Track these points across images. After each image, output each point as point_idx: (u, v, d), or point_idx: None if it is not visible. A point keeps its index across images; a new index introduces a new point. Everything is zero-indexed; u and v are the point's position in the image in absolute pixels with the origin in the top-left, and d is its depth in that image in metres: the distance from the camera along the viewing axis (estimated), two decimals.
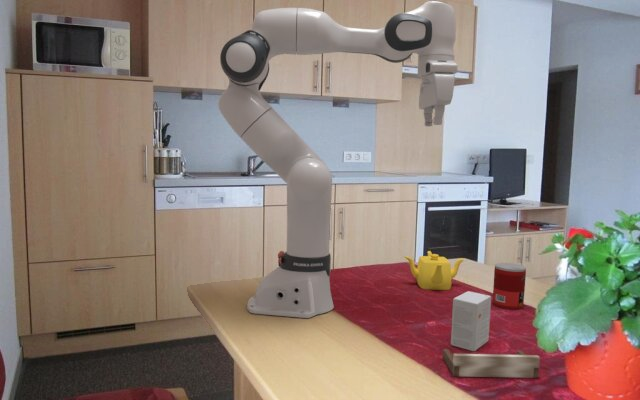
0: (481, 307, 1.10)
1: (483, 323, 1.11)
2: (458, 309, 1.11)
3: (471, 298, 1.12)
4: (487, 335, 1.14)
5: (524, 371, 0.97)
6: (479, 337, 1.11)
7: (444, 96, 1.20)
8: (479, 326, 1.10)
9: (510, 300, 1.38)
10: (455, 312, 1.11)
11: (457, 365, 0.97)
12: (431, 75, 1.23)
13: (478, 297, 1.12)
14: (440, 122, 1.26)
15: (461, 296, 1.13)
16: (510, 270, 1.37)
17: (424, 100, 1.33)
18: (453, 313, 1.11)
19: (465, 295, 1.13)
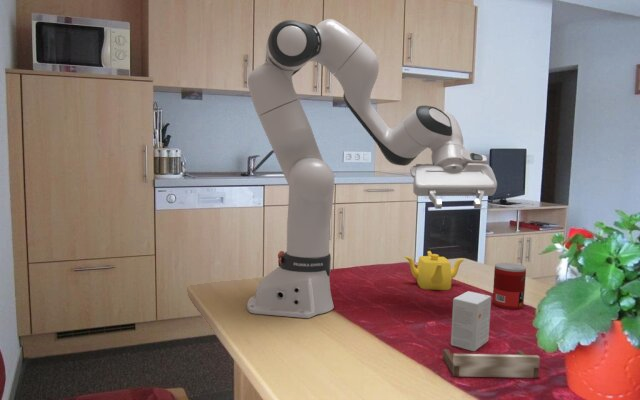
0: (481, 307, 1.10)
1: (483, 323, 1.11)
2: (458, 309, 1.11)
3: (471, 298, 1.12)
4: (487, 335, 1.14)
5: (524, 371, 0.97)
6: (479, 337, 1.11)
7: None
8: (479, 326, 1.10)
9: (510, 300, 1.38)
10: (455, 312, 1.11)
11: (457, 365, 0.97)
12: (482, 164, 1.30)
13: (478, 297, 1.12)
14: None
15: (461, 296, 1.13)
16: (511, 270, 1.37)
17: (444, 181, 1.27)
18: (453, 313, 1.11)
19: (465, 295, 1.13)
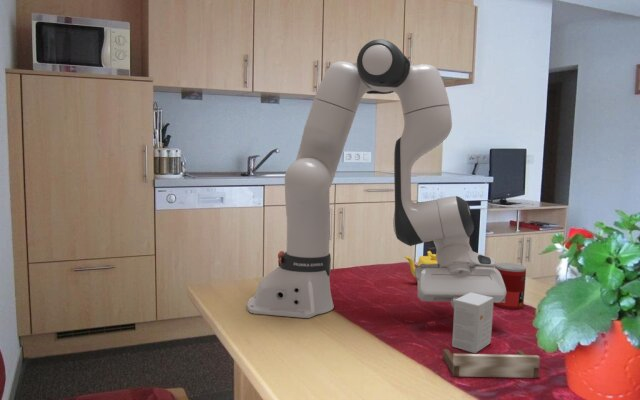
0: (483, 309, 1.09)
1: (484, 325, 1.10)
2: (459, 310, 1.09)
3: (473, 299, 1.10)
4: (489, 337, 1.13)
5: (524, 371, 0.97)
6: (481, 339, 1.10)
7: None
8: (481, 328, 1.09)
9: (510, 300, 1.38)
10: (456, 313, 1.10)
11: (457, 365, 0.97)
12: (490, 268, 1.23)
13: (480, 299, 1.11)
14: None
15: (463, 297, 1.12)
16: (511, 270, 1.37)
17: (451, 288, 1.20)
18: (454, 315, 1.10)
19: (467, 296, 1.12)
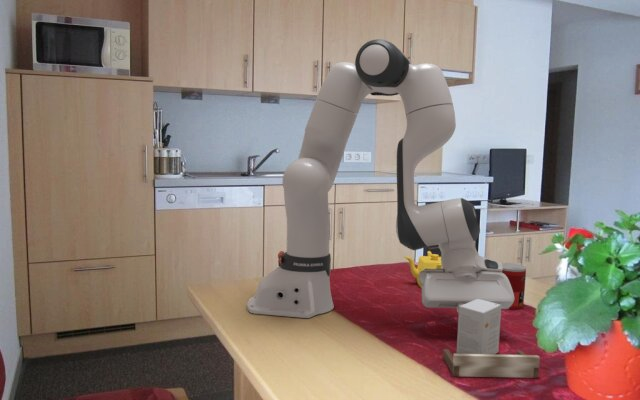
0: (489, 316, 1.04)
1: (491, 333, 1.05)
2: (464, 317, 1.05)
3: (479, 306, 1.06)
4: (497, 346, 1.08)
5: (524, 371, 0.97)
6: (487, 347, 1.05)
7: None
8: (486, 336, 1.04)
9: None
10: (461, 320, 1.06)
11: (457, 365, 0.97)
12: (497, 273, 1.18)
13: (486, 306, 1.06)
14: None
15: (468, 304, 1.07)
16: (511, 270, 1.37)
17: (457, 293, 1.15)
18: (459, 322, 1.06)
19: (473, 303, 1.08)
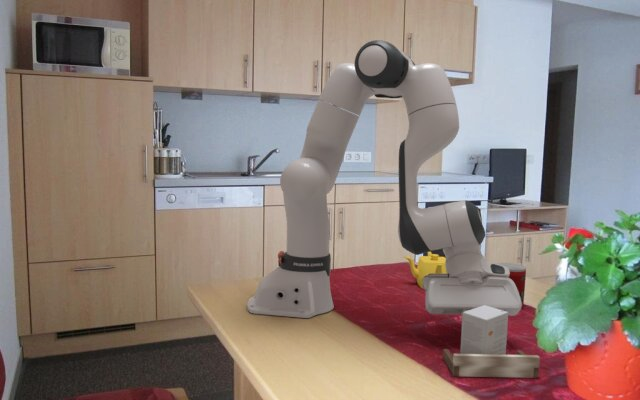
0: (493, 324, 1.00)
1: (496, 341, 1.01)
2: (467, 324, 1.01)
3: (483, 313, 1.02)
4: None
5: (524, 371, 0.97)
6: None
7: None
8: (490, 344, 1.00)
9: None
10: (464, 327, 1.02)
11: (457, 365, 0.97)
12: (504, 278, 1.14)
13: (492, 313, 1.02)
14: None
15: (473, 310, 1.03)
16: (511, 270, 1.37)
17: (462, 299, 1.11)
18: (462, 328, 1.02)
19: (478, 309, 1.04)
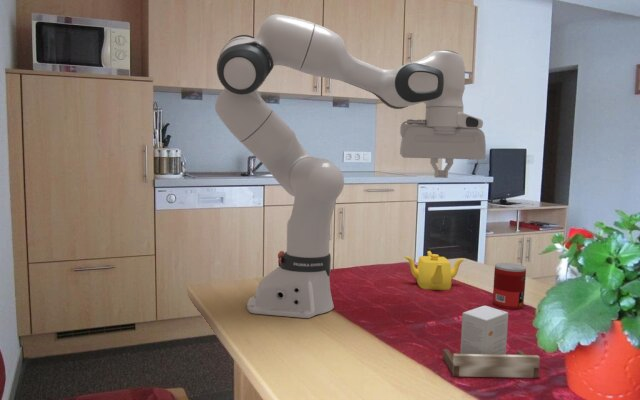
0: (493, 324, 1.00)
1: (496, 342, 1.01)
2: (467, 324, 1.01)
3: (483, 313, 1.02)
4: None
5: (524, 371, 0.97)
6: None
7: None
8: (490, 345, 1.00)
9: (510, 300, 1.38)
10: (464, 328, 1.02)
11: (457, 365, 0.97)
12: (476, 130, 1.23)
13: (492, 313, 1.02)
14: None
15: (473, 310, 1.03)
16: (511, 270, 1.37)
17: (432, 150, 1.24)
18: (462, 329, 1.02)
19: (478, 310, 1.04)
